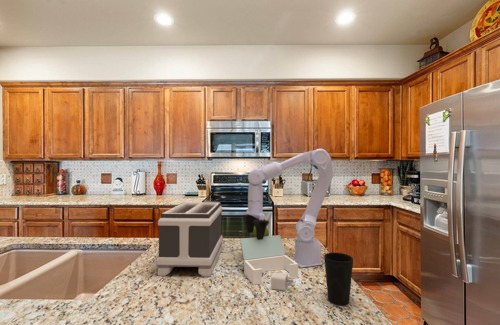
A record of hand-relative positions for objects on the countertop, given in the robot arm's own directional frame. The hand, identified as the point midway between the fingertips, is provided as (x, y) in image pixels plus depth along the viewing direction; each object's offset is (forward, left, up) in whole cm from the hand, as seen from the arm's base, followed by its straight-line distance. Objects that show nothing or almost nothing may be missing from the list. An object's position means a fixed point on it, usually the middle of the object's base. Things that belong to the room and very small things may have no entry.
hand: (254, 235), depth 101 cm
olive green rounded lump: (-7, -11, -10) cm, 17 cm away
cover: (-1, +7, -2) cm, 7 cm away
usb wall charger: (0, +23, -10) cm, 25 cm away
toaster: (+21, -11, -11) cm, 26 cm away
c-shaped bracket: (-1, +14, -10) cm, 17 cm away
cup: (-12, +35, -10) cm, 38 cm away
